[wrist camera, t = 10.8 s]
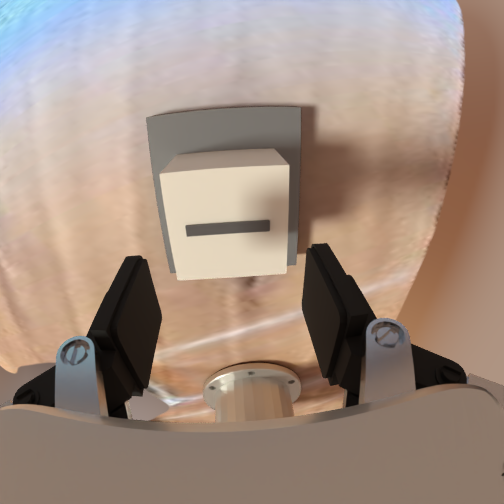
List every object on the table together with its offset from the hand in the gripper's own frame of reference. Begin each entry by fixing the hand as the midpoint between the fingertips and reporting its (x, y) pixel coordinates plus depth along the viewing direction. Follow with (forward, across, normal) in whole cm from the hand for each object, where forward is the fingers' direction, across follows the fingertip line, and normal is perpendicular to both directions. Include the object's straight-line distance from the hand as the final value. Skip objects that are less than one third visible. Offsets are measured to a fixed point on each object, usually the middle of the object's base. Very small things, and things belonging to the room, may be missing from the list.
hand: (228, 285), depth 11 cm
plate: (+12, 0, 0) cm, 12 cm away
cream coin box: (+10, 0, 0) cm, 10 cm away
